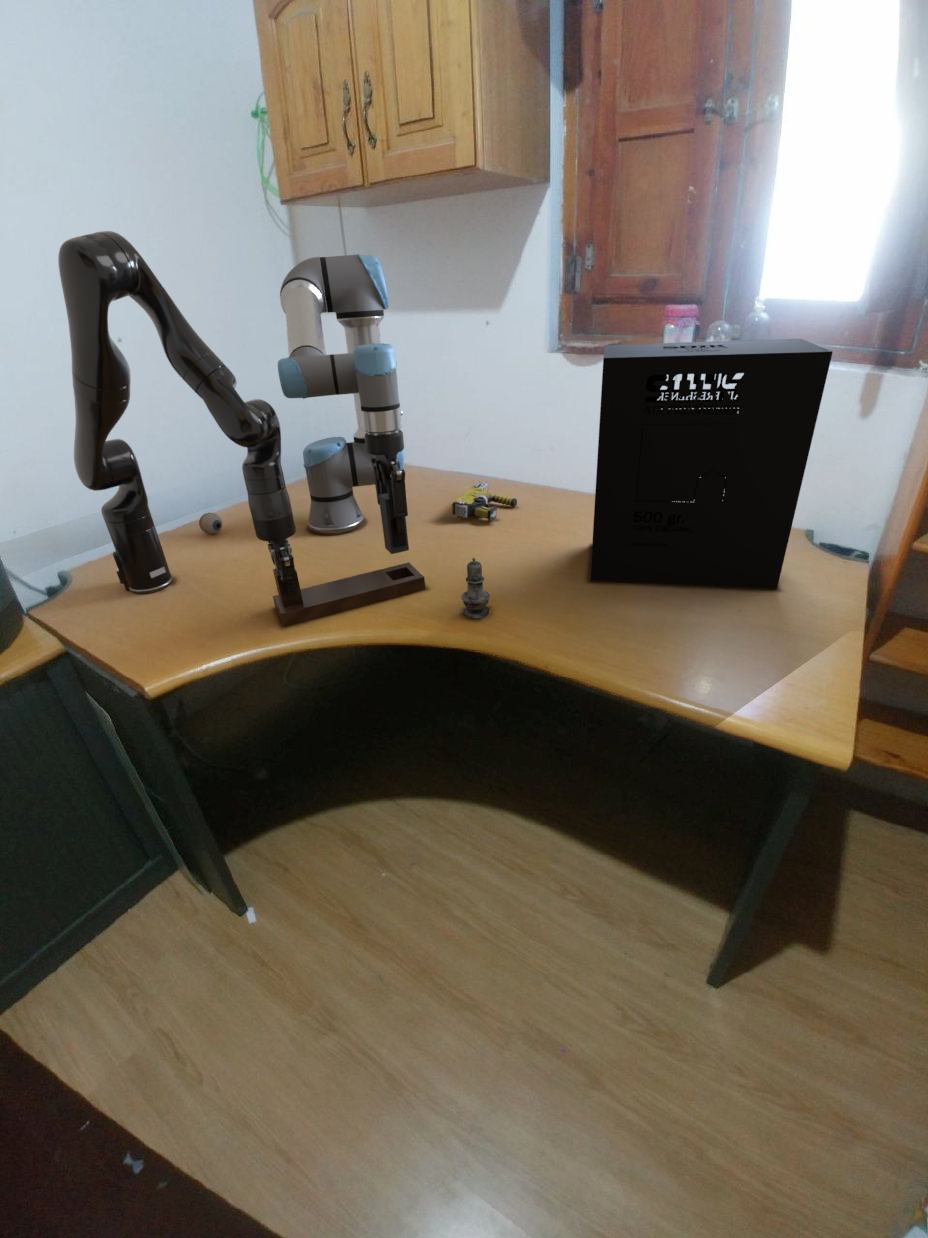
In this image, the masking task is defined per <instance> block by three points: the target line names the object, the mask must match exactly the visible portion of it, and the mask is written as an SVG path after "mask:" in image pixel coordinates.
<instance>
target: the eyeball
mask: <svg viewBox="0 0 928 1238" xmlns="http://www.w3.org/2000/svg"><path fill="white" fill-rule="evenodd" d="M198 526H199V528H200V530H201V531H202V532H203V533H204V534H206V535H212V536H214V535H216V534H218V533H220V532H221V531H222V529H223V520H222V518H221V517H220V515H218V514H217V513H214V512H206V513H203V515H201V516H200V517H199V520H198Z"/></svg>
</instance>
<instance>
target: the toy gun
mask: <svg viewBox="0 0 928 1238" xmlns="http://www.w3.org/2000/svg"><path fill="white" fill-rule="evenodd" d="M489 485H490V484H489V482H487V481H484V482H483V481H482V480H480V481H478V483H476V484H475V485H474V486H473V485H472V486H471V487H470V488H469V489H468V490H466V491H465V492H464V493H463V494H462V495H460V497H458V498H457V499H456V500H454V502H453V503H452V504H451V515H452V516H453V517H456V518H457V519H460V520H463V519H471V518H476V517H481V518H484V519H487V522H488V523H490V522H492V521H494V520H496V519H497V515H498V514H497V513H498V506H495V505H494V506H492V507H491V506H490V505H489V504H490V503H492V502H493V503H495V504H496V503H498V504H501V505H505V506H509V507H512V508H515V507H516V506H517V505H518V499H517V498H516V497H509V496H504V495H499V494H497V493H496V494H494V495H491V493H490V492H489V490H487V489H488V488H489Z"/></svg>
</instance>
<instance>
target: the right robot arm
mask: <svg viewBox="0 0 928 1238" xmlns="http://www.w3.org/2000/svg"><path fill="white" fill-rule="evenodd" d="M279 302H280V306H281V309H282V311H283V312H284V314H285V320H286V321H285V323H286V334H287V335H286V336H287V337H286V338H287V353H288V356H287V357H285V358H280V359H279V360H278V361H277V372H278V378H279V384H280V388H281V392H282V394H283V396H284V397H285V398H286V399H303V400H305V399H309V398H318V397H327V396H338V395H353V402H354V409H355V410H354V411H355V417H356V424H357V429H356V430H355V431H354V433H353V435H352V437H353V441H352V442H351V441H350V442H347V440H346V439H345V437H343V436H331V437H325V438H321V439H318V440H315V441H313V442H310V443H309V444H308V445H306V446H305V447H304V448H303V450H302V457H303V467H304V469H305V470H304V471H305V474H306V475H305V476H306V480H307V486H308V492H309V498H310V507H309V513H308V521H307V524H308V528H309V529H308V530H310V531H311V532H312V533H314V534H317V535H323V536H324V535H325V536H327V535H329V536H331V535H339V534H340V535H341V534H345V533H350V532H353V531H355V530H357V529H359V528H361V527H362V526H363V525H364V523H365V519H364V514H363V512H362V510H361V508H360V505H359V504H358V501H357V500H356V498H355V495H354V489H353V488H355V487H364V486H375V493H376V499H377V504H378V506H380V502H379V495H380V494H385V493H388V498H389V503H390V509H391V514H392V516H389V520H391V529H392V537H393V546H394V548H397V547H401V546H406V545H407V542H406V533H405V524H404V517H408V516H409V511H408V502H407V491H406V471H405V440H404V433H403V431H402V430H401V429H402V427H403V423H402V416H403V414H404V413H403V410H401V403H400V394H399V384H398V383H399V382H398V374H397V366H398V364H397V360H396V356H395V355H396V354H395V349H394V346H393V345H392V344H390V343H383V342H382V338H381V331H380V324H381V323H382V321H383V320H384V319H385V312H384V310H387V309H389V307H390V301H389V296H388V288H387V283H386V280H385V275H384V272H383V269H382V265H381V263H380V260H379V259H378V257H376V256H375V255H373V254H359V253H357V254H349V255H332V256H314V257H309V258H307V259H304V260H302V261H300V262H299V263H297V264H296V265H295V266H294V267H292V269H291V270H290V271H289V272H288V273H287V274H286V276H285V277H284V278H283V281H282V283H281V286H280V290H279ZM325 313H327V314H328V313H330V314H331V313H334V314H335V316H336V321H337V323H339V324H340V325H341V326H342V327H343V329H344V335H345V337H344V338H345V344H346V351H347V353H345V352H344V353H335V354H334V353H331V354H327V352H326V345H325V339H324V337H325V336H324V331H323V322H322V314H325Z"/></svg>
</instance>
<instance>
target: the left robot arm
mask: <svg viewBox="0 0 928 1238" xmlns="http://www.w3.org/2000/svg"><path fill="white" fill-rule="evenodd" d="M57 257H58V258H57V260H58V270H59V272H58V273H59V278H60V283H61V289H62V294H63V299H64V304H65V311H66V315H67V322H68V323H67V324H68V333H69V342H70V351H71V353H70V354H71V376H72V377H71V378H72V389H73V397H74V411H75V426H74V427H75V428H74V441H73V462H74V469H75V472H76V474H77V477H78V479H79V481H80V483H82V485H83V486H84V487H85V488H87V489H88V490H90V491H96V492H97V491H105V490H109V489H112V488H115V487H118V488H117V491H116V492H115V494H114V495H113V496H112V497H111V498H110V499H109V500H107V501H106V502H105V503H104V504H103V505H102V506H101V508H100V509H101V510H100V512H101V515H102V518H103V520H104V523H105V526H106V528H107V531H108V533H109V537H110V540H111V542H112V545H113V548H114V551H113V552H112V556H113V559H114V561H115V564H116V567H117V571H116V575H117V578H118V580H119V582H120V585H123V586H124V589H125V591H126V592H131V593H133V594H136V595H145V594H151V593H156V592H159V591H162V590H163V589H166V588H167V587H169V586H171V585H172V584H173V581H174V579H173V576H172V575H173V574H171V570H170V568H169V564H168V561H167V558H166V555H165V552H164V549H163V546H162V544H161V540H160V537H159V534H158V531H157V528H156V524H155V523H154V519H153V516H152V513H151V510H150V507H149V499H148V498H149V497H148V495H147V491H146V487H145V484H144V481H143V476H142V473H141V469H140V465H139V462H138V458H137V457H136V455H135V453H134V451H133V448H132V447H131V446H130V444H129V443H127V442H126V441H125V440H124V439H121V438H113V439H108V440H107V438H108V437H109V435H110V433H111V432H112V430H113V429H114V428H115V427H116V425H117V424H118V422H119V421H120V420H121V418H122V416H123V415H124V414H125V411H127V408H128V406H129V404H130V400H131V368H130V365H129V362H128V360H127V359H126V356H125V355H124V354H123V352H122V351H121V349H120V348H119V347H118V345H117V344H116V342H115V341H114V340H113V338H112V337H111V334H110V330H109V308H110V305H111V303H112V302H114V301H117V300H120V299H123V298H126V297H129V298H130V299H132V300H133V301H134V302H135V303H136V304H137V305H138V306H139V307H140V308H141V309H142V310H143V311H144V312H145V313H146V314H147V316H148V317H149V318H150V320H151V322H152V324H153V326H154V328H155V330H156V332H157V335H158V338H159V341H160V343H161V346H162V349H163V352H164V354H165V357H166V359H167V361H168V362H169V364H170V366H171V367H172V369H173V370H174V371H175V373H176V374H177V375H178V377H180V379H182V380H183V381H184V383H185V384H186V385H187V386H188V387H189V388H190V389H191V390H192V391H193V392H194V393H195V394H196V395H197V396H198V397H199V398H200V399H201V400H202V401H203V403H204V404H205V406H206V408H207V410H208V411H209V413H210V414H211V416H212V418H213V419H214V421H215V423H216V424H217V426H218V427H219V429H220V430H221V432H222V433H223V434H224V436H226V437H227V438H228V439H229V440H230V441H232V442H233V443H234V444H236V445H238V446H239V447H242V448H246V452H247V453H246V456H245V458H244V460H243V461H242V465H241V469H242V475H243V480H244V484H245V489H246V493H247V502H248V507H249V511H250V515H251V520H252V524H253V528H254V532H255V536H256V538H257V539H258V540H260V541H262V542H267V548H268V552H269V555H270V559H271V562H272V564H273V565H274V566H275V567H274V569H277V570H279V571H280V575H281V580H282V581H283V586H284V590H285V594H286V597H288V598H289V597H293V596H296V595H297V590H296V585H295V581H294V580H295V579H296V573H295V570H296V567H295V566H296V565H295V561H294V559H295V558H294V556H293V548H292V545H291V543H290V542H289V540H288V539H289V538H291V537H293V536H294V534H295V533H296V532H297V528H296V523H295V518H294V517H295V516H294V513H293V507H292V504H291V499H290V494H289V491H288V489H287V485H286V480H285V476H284V471H283V467H282V433H281V424H280V419H279V417H278V415H277V412H276V411H275V409H274V407H273V406H272V405H271V404H270V403H269V402H267V401H266V400H263V399H260V398H254V399H249V400H247V401H244V400H243V398H242V397H241V396H240V395H239V393H238V391H237V390H236V387H237V383H238V382H237V381H238V380H237V378H236V375H234V373H233V372H232V371H231V369H229V367H228V366H227V365H226V364H225V363H224V362H223V361H222V359H221V358H220V357H219V356H218V355H217V354H216V353H215V352H214V351H213V350H212V349H211V348H210V347H209V346H208V345H207V344H206V342H205V341H204V340H203V339H202V338H201V337H200V336H199V335H198V333H197V332H196V330H195V329H194V328H193V327H192V325H190V323H189V321H188V320H187V319H186V317H185V316H184V315H183V313H182V312H181V311H180V308H179V307H178V306H177V304H176V303H175V302H174V300H173V299H172V297H171V296H170V295H169V293H168V292H167V290H166V288H165V287H164V286H163V285H162V283H161V282H160V281H159V279H158V277H157V276H156V275H155V274H154V272H153V270H152V269H151V268H150V266H149V265H148V263H147V262H146V260H145V259H144V258H143V256H142V255H141V254H140V253H139V251H138V250H137V249H136V248H135V246H133V244H132V243H131V242H130V241H129V240H128V239H126V238H125V237H124V236H123V235H121V234H120V233H118V232H115V231H113V230H102V231H96V232H93V233H87V234H84V235H79V236H74V237H71V238H69V239H66V240H65V241H64V242H62V244H61V245H60V247H59V251H58V256H57ZM289 572H290V573H291V574H287V575H285V574H286V573H289Z"/></svg>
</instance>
